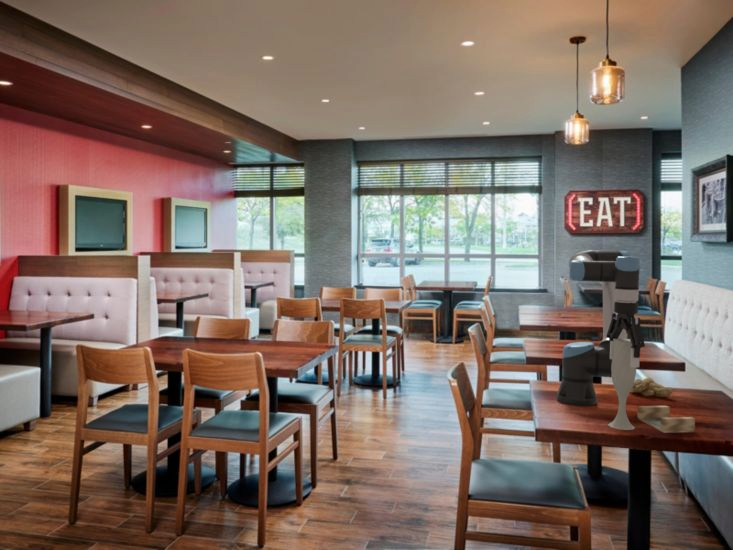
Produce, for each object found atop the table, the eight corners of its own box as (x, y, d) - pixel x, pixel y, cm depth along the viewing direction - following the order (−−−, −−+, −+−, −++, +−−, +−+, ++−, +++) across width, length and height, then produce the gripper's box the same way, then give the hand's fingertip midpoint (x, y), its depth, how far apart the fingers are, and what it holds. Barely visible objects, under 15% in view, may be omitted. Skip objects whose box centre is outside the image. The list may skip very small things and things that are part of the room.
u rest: (663, 432, 204) (664, 419, 203) (637, 418, 219) (637, 406, 219) (694, 432, 205) (695, 418, 205) (665, 418, 221) (666, 405, 220)
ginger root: (621, 385, 265) (627, 368, 263) (659, 396, 262) (665, 378, 261) (629, 395, 249) (635, 377, 248) (669, 407, 246) (675, 388, 245)
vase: (603, 422, 214) (606, 338, 213) (626, 422, 215) (629, 338, 213) (616, 430, 206) (619, 342, 204) (639, 429, 206) (643, 342, 205)
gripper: (658, 305, 196) (655, 370, 197) (617, 298, 221) (615, 355, 222) (636, 305, 195) (633, 370, 196) (598, 298, 220) (595, 356, 221)
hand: (623, 363), depth 209 cm, fingers open, 13 cm apart
